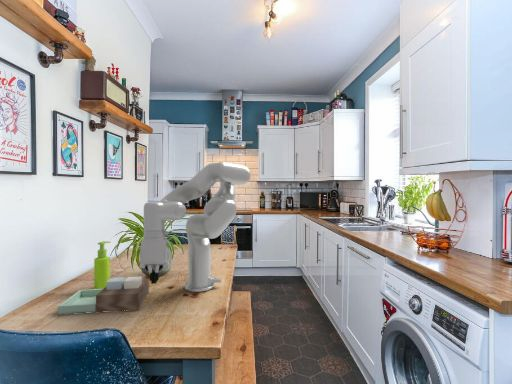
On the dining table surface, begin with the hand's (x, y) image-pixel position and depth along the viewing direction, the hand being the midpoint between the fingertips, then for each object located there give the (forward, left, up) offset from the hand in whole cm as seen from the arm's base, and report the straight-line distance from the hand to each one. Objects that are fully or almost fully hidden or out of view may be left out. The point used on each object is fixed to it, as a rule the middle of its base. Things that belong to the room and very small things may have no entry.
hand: (154, 282), depth 108 cm
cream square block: (+8, 0, -1) cm, 8 cm away
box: (+24, 0, -7) cm, 25 cm away
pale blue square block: (+14, 0, -1) cm, 14 cm away
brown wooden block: (+11, 0, -7) cm, 13 cm away
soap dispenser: (+25, -18, -7) cm, 31 cm away
